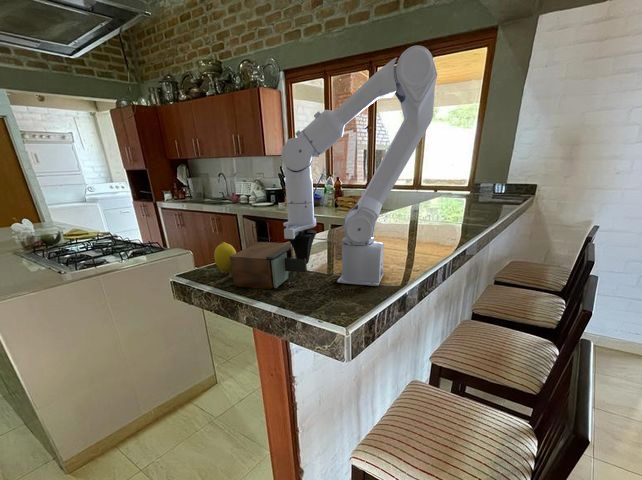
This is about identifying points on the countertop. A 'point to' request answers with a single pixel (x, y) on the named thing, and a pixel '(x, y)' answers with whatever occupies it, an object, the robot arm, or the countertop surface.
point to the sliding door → (286, 268)
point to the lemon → (224, 256)
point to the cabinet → (257, 264)
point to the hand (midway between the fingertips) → (303, 263)
